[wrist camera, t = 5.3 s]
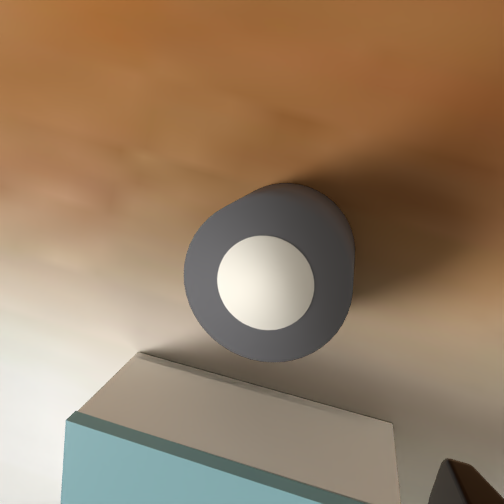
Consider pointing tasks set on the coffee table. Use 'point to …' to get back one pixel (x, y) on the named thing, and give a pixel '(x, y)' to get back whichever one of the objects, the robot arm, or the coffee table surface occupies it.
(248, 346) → the grey cylinder white cap
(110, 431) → the lid
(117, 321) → the coffee table surface
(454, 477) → the robot arm
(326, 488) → the box
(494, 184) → the coffee table surface
